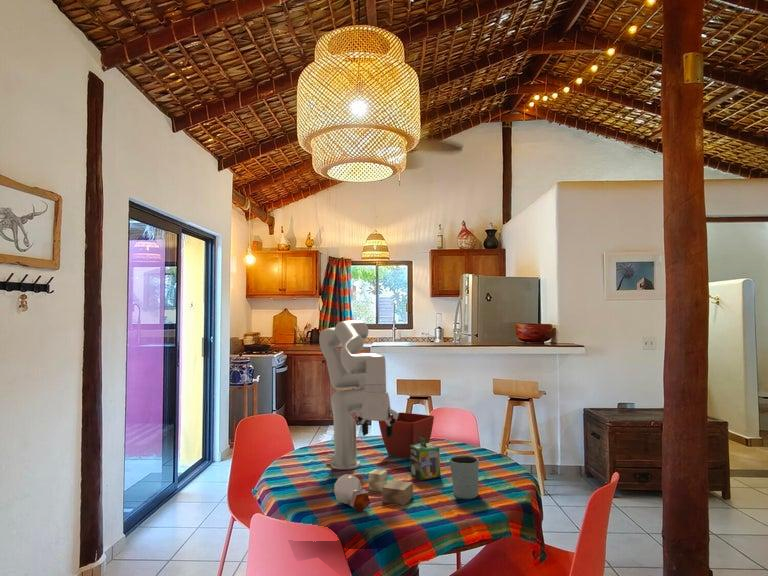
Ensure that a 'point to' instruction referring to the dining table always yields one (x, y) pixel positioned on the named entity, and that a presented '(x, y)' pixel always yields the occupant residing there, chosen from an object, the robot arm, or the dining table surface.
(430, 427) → the plant pot
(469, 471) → the grey embossed cup
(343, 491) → the potion bottle
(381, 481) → the beech block
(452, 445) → the dining table surface
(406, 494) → the tan square block
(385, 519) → the dining table surface
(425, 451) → the chalk box
